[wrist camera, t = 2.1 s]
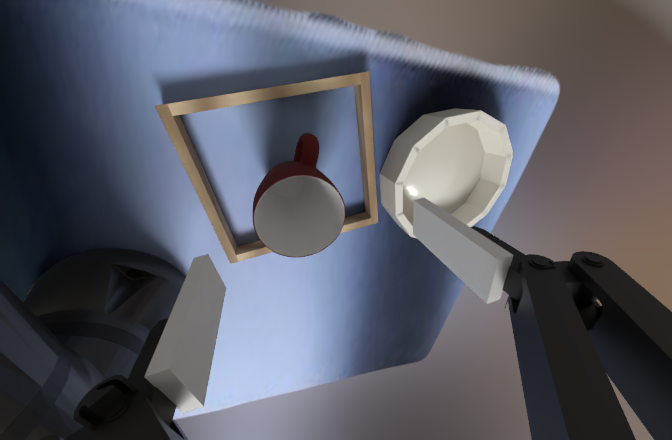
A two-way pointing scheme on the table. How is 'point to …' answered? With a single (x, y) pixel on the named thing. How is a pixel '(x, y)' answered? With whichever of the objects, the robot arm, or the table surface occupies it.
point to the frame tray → (174, 110)
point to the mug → (298, 205)
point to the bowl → (447, 166)
